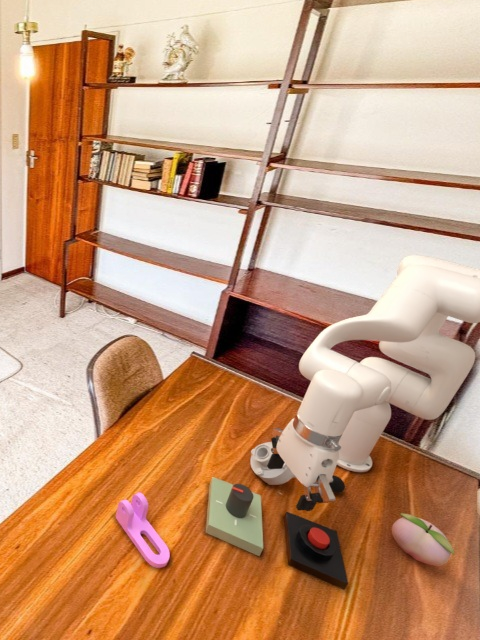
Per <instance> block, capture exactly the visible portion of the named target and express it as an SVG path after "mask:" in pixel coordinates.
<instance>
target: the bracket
mask: <svg viewBox="0 0 480 640" xmlns="http://www.w3.org/2000/svg"><path fill="white" fill-rule="evenodd" d="M148 510H149V502H148V499H147V498H146V496H145V495H144V494H143V493H142V492H141V491H140V492H136V493H135V494H133V495H132V498H131V502H130V501H129V500H128V499H126V498H125V499H123V500H120V501H119V502H118V504H117V508H116V514H115V519H116V521H117V522H118V524H119V525H120V526H121V528H122V529H123V530H124V532H125V533H126V535H127V537H129V540H131V542H132V543H133V545H134V546H135V548H136V549H137V550H138V552H139V553H140V554H141V556H142V557H143V559H144V560H145V562H146V563H147V564H148V565H149V566H151V567H153V568H156V569H163V568H165V567H166V566H167V565H168V563H169V560H170V557H171V556H170V555H171V554H170V549H169V546H168V545H167V544H166V543H165V541H164V540H163V539H162V537H161V536H160V535H159V534H158V532H157V531H156V530H155V529H154V527H153V526H152V524H151V523H150V522H149V521H148V519H147V515H148ZM142 535H144V536H146V538H147V539H148V540H149V542H150V543H151V544H152V546H153V547H154V548H155V550H156V551H157V552H158V554H156V553H154V551H153V550H152V549H151V547H150V546H149V544H148V543H147V542H146V540H145V539H144V538H143V536H142Z"/></svg>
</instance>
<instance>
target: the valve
mask: <svg viewBox="0 0 480 640" xmlns="http://www.w3.org/2000/svg"><path fill="white" fill-rule="evenodd" d="M271 448H273V446H272V441H267V442H264V443H261V444H258V445H256V446H255V447H254V448H252V449H251V450H250V453H251V456H250V462H249V464H250V467H251V470H252V471H253V472H254V474H255V475H256V476H257V477H259V479H261V480H262V481H263V482H265V483H267V484H268V485H270V486H272V485H274V486H277V485H278V486H279V485H283V484H285V483H287V482H289V481H290V480H291V479H296V476H295V475H294V474H293V473H292V471H291V470H290V469H289V467H288V466H287V465H286V463H284V465H283V467H282V469H269V468H268V467H267V465H268V462H269V460H270V458H271V455H272V454H273V453H272V452H271ZM329 485H330V487H331V490H332V492H333V494H342V493H343V492H344V491H345V489H346V485H345V482H344V480H343V479H342V478H341V477H339V476H337V475H335V474H333V476H332V478H331V480H330V482H329Z"/></svg>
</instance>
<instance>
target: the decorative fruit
mask: <svg viewBox="0 0 480 640" xmlns="http://www.w3.org/2000/svg"><path fill="white" fill-rule="evenodd" d="M399 516H401V517H400V518H398V519H396V520H395V522H394V523H392V526H391V534H392V537H393V539H394V541H395V542H396V544H397V545H398V546H399V548H400V549H401V550H402V551H403V552H404V553H406V554H407V555H409V556H411V558H412V559H414V560H416V561H417V562H420V563H423V564H426V565H429V566H436V567H437V566H444V565H445V564H447V563H448V561H449V559H450V558H451V555H453V556H455V555H456V554H455V551H454V548H453V546H452V544H451V543H450V541H449V539H448V537H446V535H445V534H444V533H443V531H442V530H440V529H439V528H438V527H437V526H435V525H434V524H433V523H431V522H429V521H427V520H425V519H423V518H421V517H417V516H415V515H413V514H409V513H402V512H401V513H399Z"/></svg>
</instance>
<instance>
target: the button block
mask: <svg viewBox="0 0 480 640" xmlns="http://www.w3.org/2000/svg"><path fill="white" fill-rule="evenodd" d="M283 527H284V537H285V547H286V558H287V566H290V567H292V568H294V569H297V570H299V571H301V572H303V573H306V574H308V575H310V576H313V577H314V578H318V580H321V581H324V582H325V583H328V584H331V585H333V586H335V587H337V588H339V589H342V590H345V589H346V587H347V586H348V585H349V581H348V575H347V572H346V568H345V562H344V559H343V554H342V549H341V545H340V540H339V535H338V531H337V530H335V529H332V528H330V527H328V526H325V525H322V524H319V523H318V522H315V521H312V520H309V519H307V518H304V517H302V516H299V515H297V514H295V513H292V512H289V511H285V513H284V515H283ZM311 528H319V529H321V530H322V531H324V532H325V533H326V534H327V535H328V537H329V539H330V543H329V544H328V546H327V548H325V549H320V548H317V547H316V546H314V545H313V544H312V543H311V542H310V541H309V539H308V533H309V531H310V529H311Z"/></svg>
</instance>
